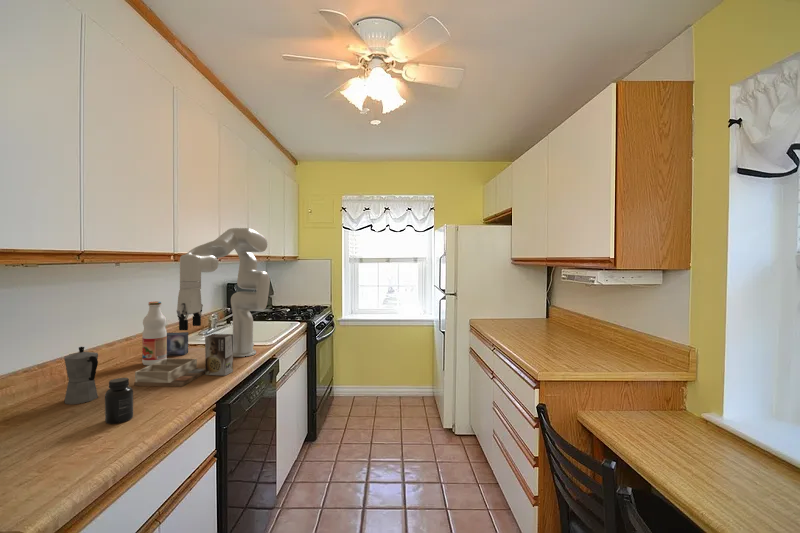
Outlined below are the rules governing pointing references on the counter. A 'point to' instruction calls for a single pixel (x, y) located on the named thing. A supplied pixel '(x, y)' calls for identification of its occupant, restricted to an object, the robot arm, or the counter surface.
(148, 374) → the beige divided tray
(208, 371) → the coffee box
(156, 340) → the fruit juice
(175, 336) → the small box
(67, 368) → the coffeepot
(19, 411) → the counter surface
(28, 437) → the counter surface
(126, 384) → the supplement bottle
